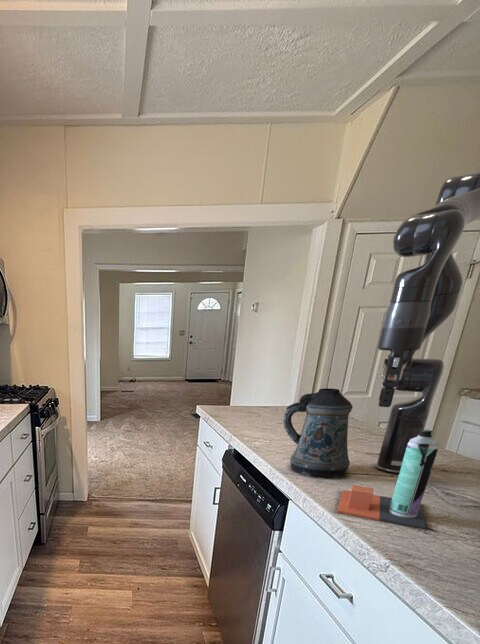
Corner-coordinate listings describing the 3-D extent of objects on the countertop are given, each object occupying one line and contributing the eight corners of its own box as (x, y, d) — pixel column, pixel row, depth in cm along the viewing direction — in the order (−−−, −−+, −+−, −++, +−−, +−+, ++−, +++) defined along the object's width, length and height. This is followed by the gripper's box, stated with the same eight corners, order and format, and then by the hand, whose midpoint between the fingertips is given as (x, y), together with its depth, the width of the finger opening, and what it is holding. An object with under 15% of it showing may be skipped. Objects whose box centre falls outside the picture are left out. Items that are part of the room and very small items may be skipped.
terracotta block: (348, 500, 103) (352, 484, 101) (369, 504, 100) (373, 488, 99) (347, 506, 99) (351, 490, 98) (368, 510, 97) (373, 493, 95)
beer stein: (358, 478, 119) (380, 393, 110) (293, 479, 120) (308, 394, 110) (329, 462, 135) (346, 385, 125) (271, 462, 135) (283, 386, 125)
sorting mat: (342, 491, 110) (343, 489, 110) (419, 504, 101) (420, 502, 101) (337, 512, 98) (337, 510, 97) (424, 529, 89) (425, 526, 89)
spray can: (421, 518, 92) (449, 433, 85) (395, 517, 93) (420, 432, 86) (409, 509, 97) (434, 427, 90) (384, 507, 98) (407, 427, 91)
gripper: (429, 325, 77) (405, 410, 83) (423, 325, 88) (403, 400, 94) (382, 326, 81) (363, 407, 87) (382, 326, 92) (365, 398, 98)
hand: (384, 403), depth 90 cm, fingers open, 8 cm apart
